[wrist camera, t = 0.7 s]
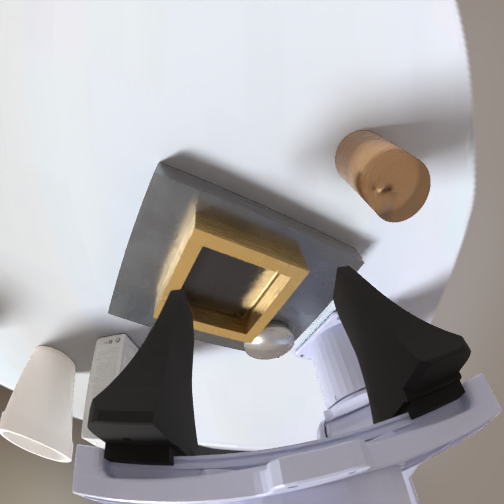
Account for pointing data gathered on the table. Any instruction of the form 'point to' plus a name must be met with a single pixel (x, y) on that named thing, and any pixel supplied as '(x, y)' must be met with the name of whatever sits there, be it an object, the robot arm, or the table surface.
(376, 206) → the copper cylinder
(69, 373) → the foam cup
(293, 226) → the grey base with frame
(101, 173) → the table surface
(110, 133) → the table surface
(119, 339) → the skincare box
